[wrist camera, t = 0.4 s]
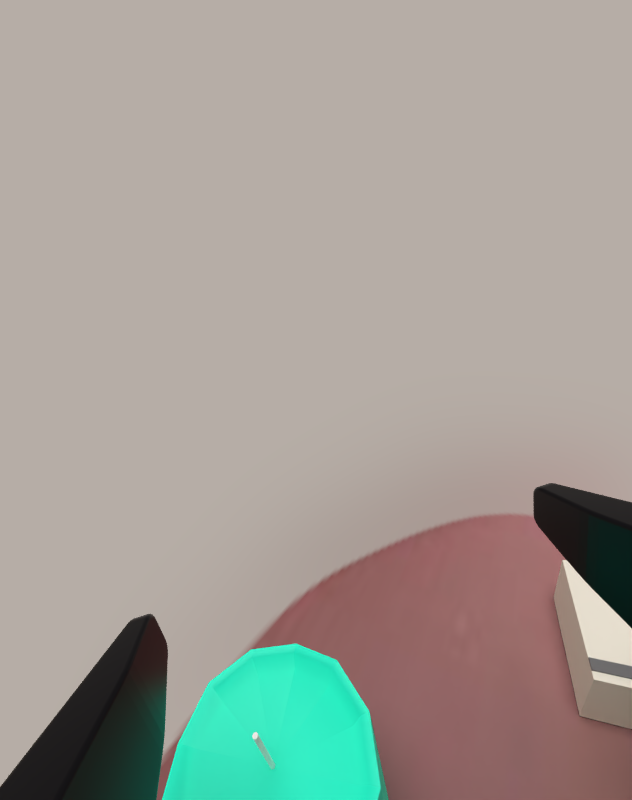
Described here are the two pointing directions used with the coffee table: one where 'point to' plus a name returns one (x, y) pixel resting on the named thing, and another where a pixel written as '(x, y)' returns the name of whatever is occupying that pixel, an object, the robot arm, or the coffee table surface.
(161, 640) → the robot arm
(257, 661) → the candle
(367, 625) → the coffee table surface
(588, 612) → the block
